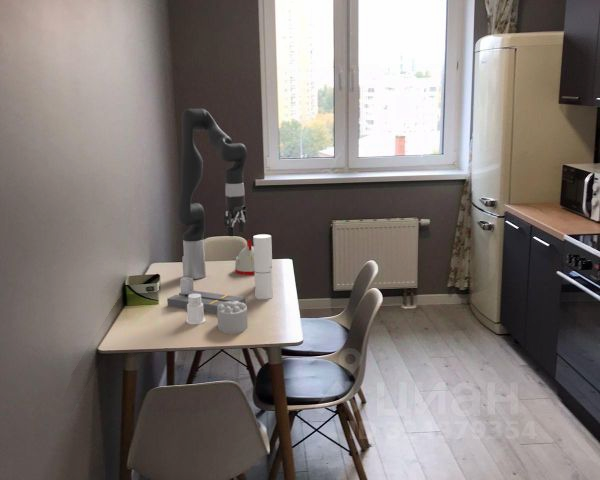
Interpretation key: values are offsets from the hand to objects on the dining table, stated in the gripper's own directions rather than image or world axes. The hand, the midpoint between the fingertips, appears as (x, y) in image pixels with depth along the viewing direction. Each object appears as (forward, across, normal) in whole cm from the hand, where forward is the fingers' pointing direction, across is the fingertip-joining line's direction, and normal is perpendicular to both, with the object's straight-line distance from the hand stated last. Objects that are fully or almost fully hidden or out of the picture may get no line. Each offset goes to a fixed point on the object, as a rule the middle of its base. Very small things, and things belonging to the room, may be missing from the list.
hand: (236, 233), depth 275 cm
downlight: (+26, +35, +2) cm, 43 cm away
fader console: (+25, +18, -4) cm, 31 cm away
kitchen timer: (+26, -34, -14) cm, 45 cm away
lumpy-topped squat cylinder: (+25, +35, +18) cm, 47 cm away
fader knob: (+25, +17, -13) cm, 33 cm away
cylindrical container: (+26, -1, +11) cm, 28 cm away
